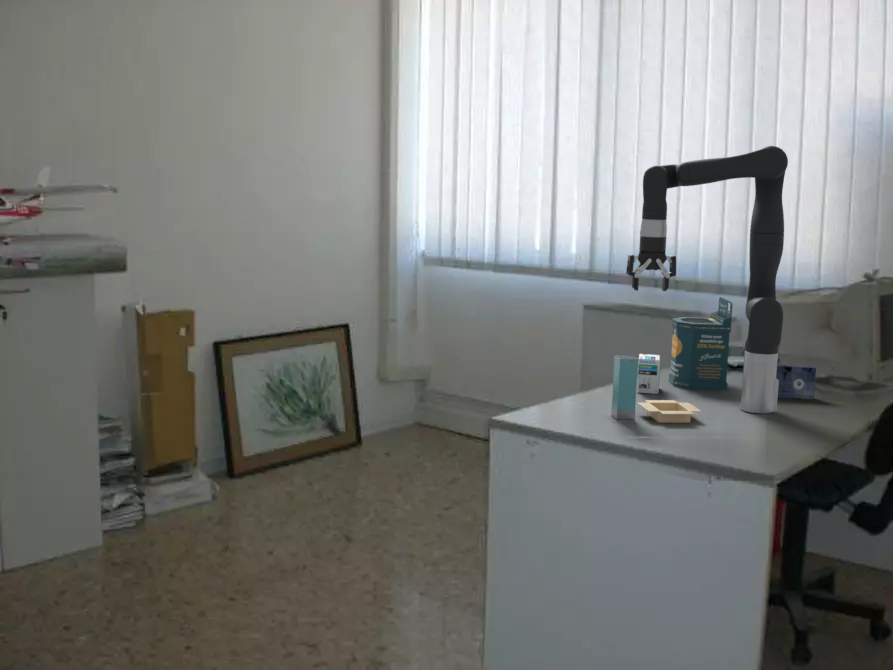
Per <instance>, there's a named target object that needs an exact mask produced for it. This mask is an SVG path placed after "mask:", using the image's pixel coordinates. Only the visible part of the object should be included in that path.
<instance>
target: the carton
mask: <svg viewBox="0 0 893 670" xmlns="http://www.w3.org/2000/svg"><path fill="white" fill-rule="evenodd" d="M636 403H637V405H638V406H640V407H641V408H642V409H644V410H645V411H646V414H647V415H649V416H650V417H651V418H652V419H653V420H655V421H656V422H657V423H668V424H669V423H672V424H673V423H677V424H679V423H682V424H683V423H691V416H692V415H695V413H702V410H700V409H699V408H697V407H696V406H695V405H693V404H692V403H690V402H678V401H676V400H675V399H674V400H673V399H672V400H671V399H670V400H669V399H667V400H665V399H660V400H659V399H644V402H643V401H642V402H637V401H636Z"/></svg>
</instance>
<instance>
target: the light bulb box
mask: <svg viewBox="0 0 893 670" xmlns="http://www.w3.org/2000/svg"><path fill="white" fill-rule="evenodd" d="M660 370H661V355H660V354H650V353H647V354H645V353H639V354H638V368H637V386H636V394H637V393H640V394H653V395H656V394H657V395H658V394H660V393H659V389H660V380H661V379H660V378H661V377H660V375H661V371H660Z"/></svg>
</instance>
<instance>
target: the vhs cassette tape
mask: <svg viewBox="0 0 893 670" xmlns="http://www.w3.org/2000/svg"><path fill="white" fill-rule="evenodd" d="M816 373H817V367H816V366H807V365H806V366H805V365H789V364H788V365H785V364H777V373H776V379H778V380H779V385H778V397H779V398H782V399H796V398H801V400H814V397H815V388H816V387H815V385H816V375H817V374H816Z"/></svg>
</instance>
